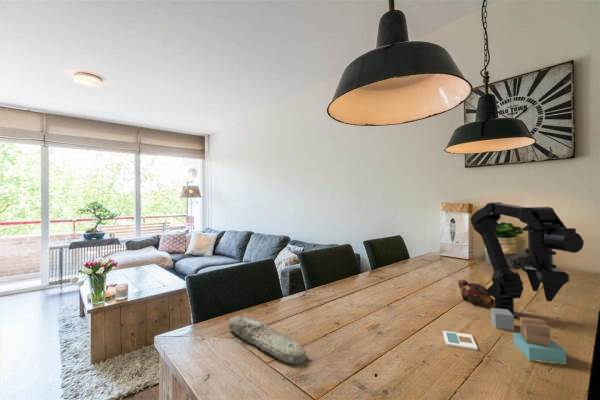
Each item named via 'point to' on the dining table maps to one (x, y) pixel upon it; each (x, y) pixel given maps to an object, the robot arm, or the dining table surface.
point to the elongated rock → (268, 339)
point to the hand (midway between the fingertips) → (541, 295)
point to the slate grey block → (502, 319)
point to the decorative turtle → (474, 293)
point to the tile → (459, 340)
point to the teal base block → (540, 350)
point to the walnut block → (535, 331)
